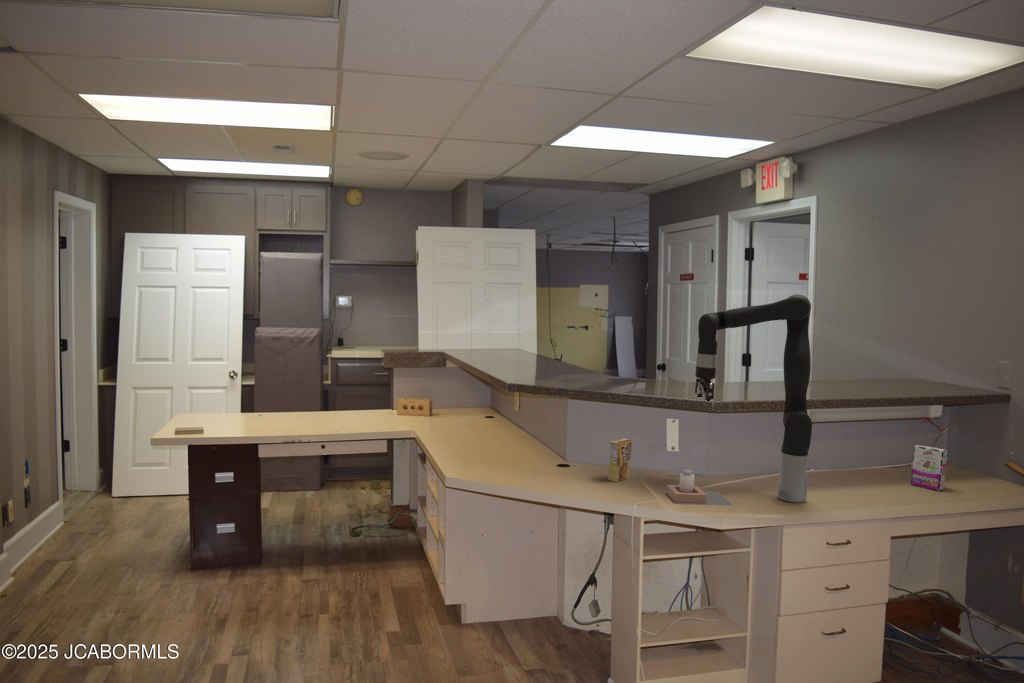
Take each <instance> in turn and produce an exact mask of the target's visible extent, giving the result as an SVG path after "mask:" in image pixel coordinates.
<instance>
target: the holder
mask: <svg viewBox="0 0 1024 683" xmlns="http://www.w3.org/2000/svg"><path fill="white" fill-rule="evenodd" d="M662 491H663V492H664V493H665V494H666V495H667V496H668V498H669V499H671V501H673V503H674V504H675V505H698V506H699V505H700V506H701V505H703V506H705V505H706V506H734V504H733V503H732V502H730V500H728V499H727V498H726V497H725V496H723V495H722V494H721V493H720V492H719V491H712V490H711V491H708V490H702V489H701V488H700V487H698V485H694V489H693V493H680V492H679V484H667V485H666V489H663V490H662Z"/></svg>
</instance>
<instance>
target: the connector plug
mask: <svg viewBox="0 0 1024 683" xmlns="http://www.w3.org/2000/svg"><path fill="white" fill-rule="evenodd" d="M678 485H679V492H680V493H693V489H694V486H695V474H694V473H693V470H692V469H687V468H685V469H683V470H682V472H680V474H679V484H678Z"/></svg>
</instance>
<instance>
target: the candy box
mask: <svg viewBox="0 0 1024 683" xmlns="http://www.w3.org/2000/svg"><path fill="white" fill-rule="evenodd" d="M632 442H633V441H632V440H631V439H628V438H620V439H615V440H611V441H610V445H609V446H610V447H609V462H608V474H607V480H608V481H611V482H614V481H615V482H614V483H617V482H619V481H620V482H621V481H624V480H627V479H629V478H630V467H631V466H630V465H631V456H632V454H631V453H632ZM623 479H624V480H623Z"/></svg>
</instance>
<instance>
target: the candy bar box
mask: <svg viewBox="0 0 1024 683" xmlns="http://www.w3.org/2000/svg"><path fill="white" fill-rule="evenodd" d="M912 455H913V456H912V467H911V475H910V485H911V486H914V485H915V487H918V486H919V487H918V488H923V489H927V490H932V491H936V492H941V491H943V490H945V480H946V472H947V471H946V469H947V460H948V449H945V448H944V449H943V448H939V447H933V446H927V445H922V444H916V445H914V446H913V454H912Z"/></svg>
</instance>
